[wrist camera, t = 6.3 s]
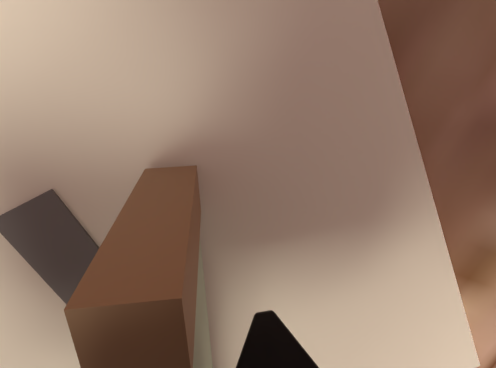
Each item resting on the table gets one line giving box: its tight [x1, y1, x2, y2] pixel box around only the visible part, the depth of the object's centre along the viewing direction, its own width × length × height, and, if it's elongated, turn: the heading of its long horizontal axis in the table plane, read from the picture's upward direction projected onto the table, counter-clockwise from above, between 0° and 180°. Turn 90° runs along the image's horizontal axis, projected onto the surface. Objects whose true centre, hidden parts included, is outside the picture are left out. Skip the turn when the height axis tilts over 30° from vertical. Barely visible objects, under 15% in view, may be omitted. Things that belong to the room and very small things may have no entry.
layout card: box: [0, 0, 480, 368], centre depth 11 cm, size 22×20×1 cm
